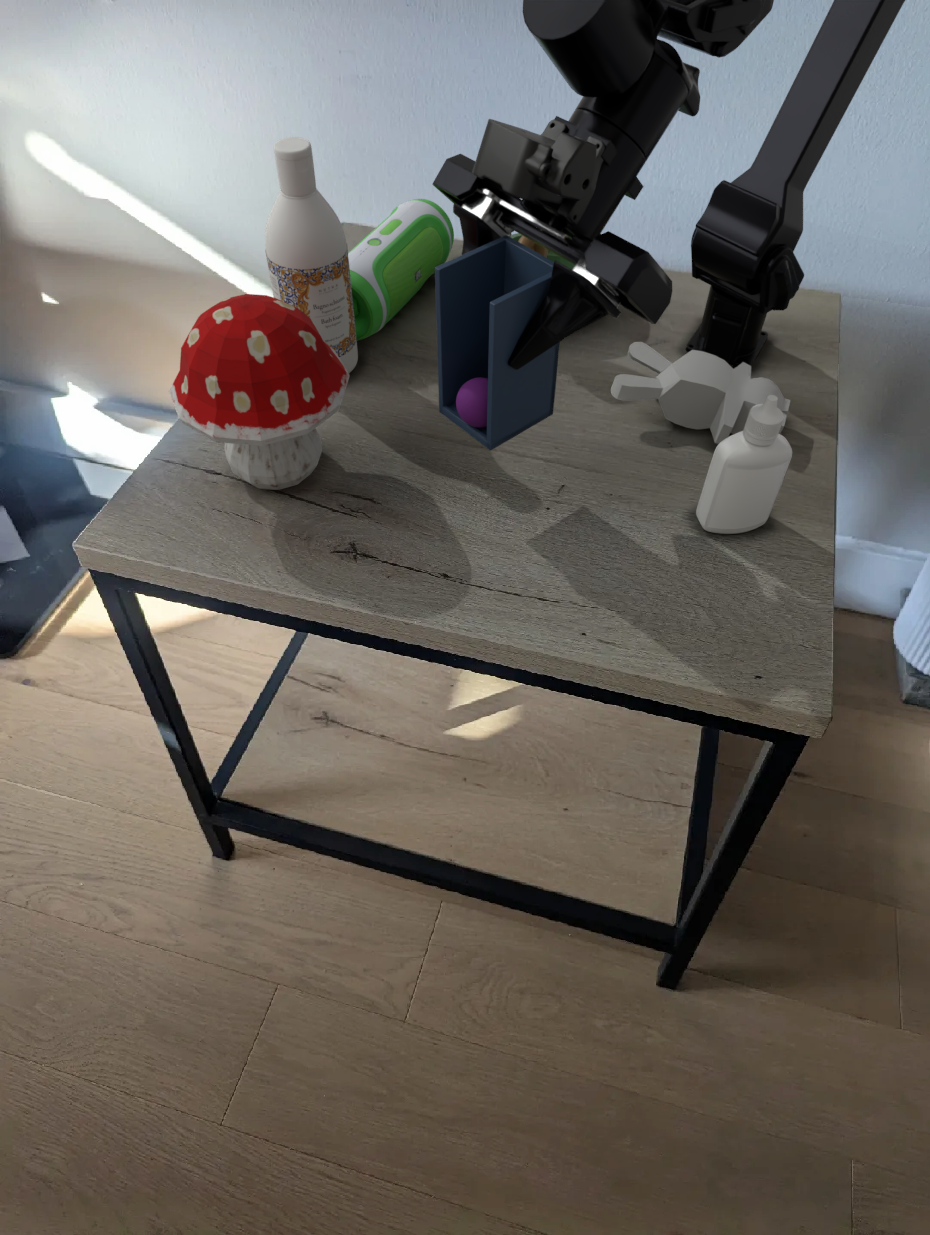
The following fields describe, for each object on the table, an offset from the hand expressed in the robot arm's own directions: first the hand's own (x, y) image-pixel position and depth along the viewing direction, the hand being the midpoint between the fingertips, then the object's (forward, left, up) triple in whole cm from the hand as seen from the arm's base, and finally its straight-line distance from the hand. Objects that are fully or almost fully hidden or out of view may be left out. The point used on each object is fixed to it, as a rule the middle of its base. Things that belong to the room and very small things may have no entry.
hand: (481, 346), depth 61 cm
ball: (+1, 0, -4) cm, 4 cm away
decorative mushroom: (+5, -17, -14) cm, 22 cm away
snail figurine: (-22, -7, -11) cm, 26 cm away
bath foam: (-9, -22, -14) cm, 27 cm away
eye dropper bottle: (-7, +19, -14) cm, 25 cm away
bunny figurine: (-19, +12, -14) cm, 27 cm away
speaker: (-21, -22, -14) cm, 33 cm away
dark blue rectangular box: (-1, +1, -7) cm, 7 cm away
